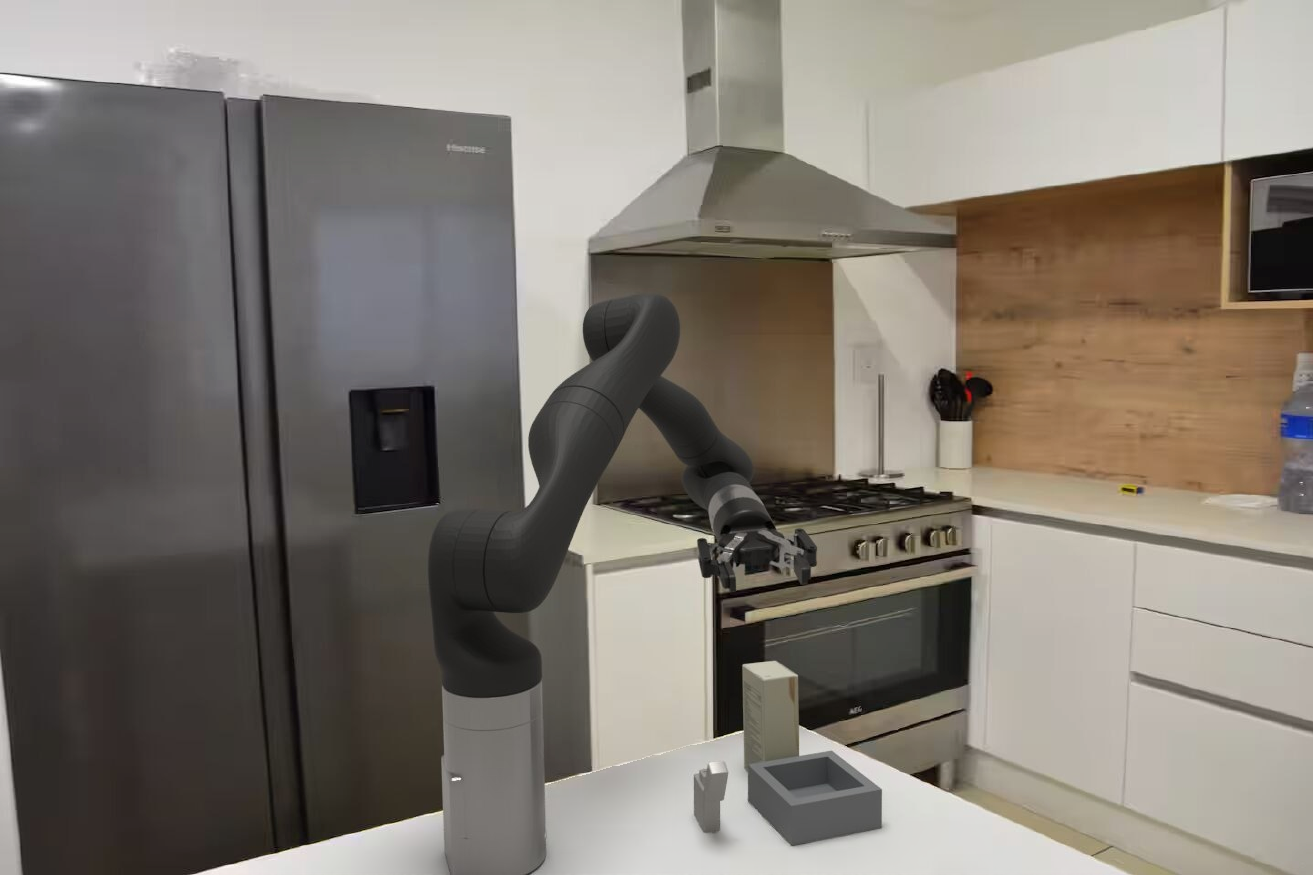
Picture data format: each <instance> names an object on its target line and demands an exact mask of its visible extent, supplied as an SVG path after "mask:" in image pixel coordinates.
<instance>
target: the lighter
mask: <svg viewBox="0 0 1313 875" xmlns="http://www.w3.org/2000/svg"><path fill="white" fill-rule="evenodd" d="M728 770H729V769H728V767H727V764H726V762H725V761H724V760H723V761H721V760H720V761H712V762H709V763H707V768H702V769H699V770H698V773H694V774H693V816H694V817H695V820H696V821H697V823H698V825H699V827H700V829H701V830H702V833H703V834H708V833H717V832H721V802H722V801H725V797H726V796H725V795H726V790H727V784H728V778H729V771H728Z"/></svg>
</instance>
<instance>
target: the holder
mask: <svg viewBox="0 0 1313 875" xmlns="http://www.w3.org/2000/svg"><path fill="white" fill-rule="evenodd" d="M747 802H748V803H749V804H750V805H751V806H752V807H753V808H754V809H755V810H756V811H757V813H759V814H760V815H761V816H762V817H763V818H764V820H766V821H767V822H768V823H769V825H771V826H772V827H773V829H775V830H776V832H777V833H779V835H781V837H782V838H783V839H784V840H785V841H786V842H787V843H788V844H789V845H790V846H791V847H792V846H797V845H802V844H807V843H808V844H809V843H812V842H813V843H814V842H818V841H823V840H827V839H833V838H837V837H842V836H848V835H854V834H857V833H858V834H859V833H863V832H867V831H871V830H872V831H873V830H877V829H882V827H883V826H882V825H883V822H882V821H883V820H882V818H883V816H882V815H883V812H882V811H883V789H882V788H881V787H880V786H878V784H876V783H874V782H873V781H872V780H871V779H869V777H867V776H865V775H864V774H863V773H861V772H860V771H859V770H858V769H857V768H855V767H854V766H853V765H851V764H850V763H848V762H847V760H844V758H842V757H841V756H839V755H838V754H837V753H836V752H835V751H834V750H828V751H822V752H821V751H820V752H816V753H810V754H809V753H808V754H804V755H803V754H801V755H799V756H796V757H790V758H784V759H778V760H772V761H766V762H760V763H754V764H748V771H747Z"/></svg>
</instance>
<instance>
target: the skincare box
mask: <svg viewBox="0 0 1313 875" xmlns="http://www.w3.org/2000/svg"><path fill="white" fill-rule="evenodd" d="M741 666H742V670H741V671H742V709H743V711H742V715H743V721H742V723H743V767H744V769H745V770H746V771H747V772H748V764H754V763H760V762H766V761H772V760H778V759H784V758H790V757H796V756H800V724H799V723H800V721H799V719H800V715H799V709H800V708H799V675H798V674H797V673H795V672H794V671H793V670H791V669H789V668H788V667H787V666H785V665H784V664H782V663H780V662H778V661H777V660H770V661H763V662H762V661H761V662H753V663H751V662H750V663H743V664H742V665H741Z"/></svg>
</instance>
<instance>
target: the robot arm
mask: <svg viewBox="0 0 1313 875" xmlns="http://www.w3.org/2000/svg"><path fill="white" fill-rule="evenodd" d="M680 322H681V321H680V317H679V313H678V310H677V308H676V306H675V305H674V303H673V302H672V300H670V299H669V298H668V297H666V296H664V295H663V294H661V293H656V292H654V293H653V292H647V293H638V294H633V295H628V296H622V297H617V298H612V299H608V300H604V301H603V300H602V301H600V302H597V303H594V304H593V305H591V306H590V307H588V309H587V311H586V312H585V315H584V317H583V322H582V337H583V343H584V347H585V350H586V351H587V354H588V356H589V358H590V359H591V360H592V361H591V362H589V363H588V364H586V365H585V366H583V368H580V369H579V370H578V371H576V372H574V373H573V374H571V375H570V376H568V377H567V378H566V379H564V380H563V381H562V382H561V383H560V384H559V385H558V386H557V387H556V388H554V390H553V391H552V393H551V394H550V395H549V397H548V398H547V399H546V401H545V403H544V404H543V406H542V407H541V408H540V410H539V412H537V415H536V416H535V418H534V420H533V421H532V424H531V426H530V429H529V431H528V437H527V439H528V442H527V443H528V445H527V446H528V452H529V454H528V455H529V457H530V462H531V465H532V467H533V470H534V473H535V476H536V479H537V483H538V486H539V487H538V489H537V492H536V493H535V494H534V497H533V498H532V500H531V501H530V503H529V504H528V505H526V506H525V507H524V508H522V509H519V510H515V511H513V510H498V509H480V508H478V509H477V508H476V509H475V508H458V509H453V510H450V511H448V512H446V513H445V514H444V515H443V516H442V517H441V518H440V520H439V521H438V522H437V524H436V526H435V527H434V529H433V531H432V535H431V538H430V543H429V549H428V557H427V579H428V580H427V582H428V591H429V604H430V612H431V613H430V614H431V625H432V636H433V638H432V639H433V650H434V654H435V658H436V661H437V664H438V666H439V669H440V673H441V674H440V676H441V696H442V697H441V698H442V699H441V700H442V721H443V722H442V726H443V727H442V728H443V731H442V732H443V753H444V754H443V755H441V760H440V761H441V786H442V787H441V788H442V789H441V791H442V819H443V845H444V846H443V847H444V848H443V850H444V854H445V857H446V861H447V865H448V869H449V874H450V875H527V874H529V873H532V872H533V871H534V870H537V868H538V867H540V865H542V864H543V862H544V860H545V859H546V856H547V827H546V826H547V824H546V823H547V821H546V820H547V819H546V817H547V816H546V788H545V787H546V786H545V785H546V784H545V780H546V779H545V778H546V777H545V752H544V751H545V750H544V749H545V748H544V747H545V745H544V743H545V742H544V712H543V711H544V709H543V708H544V707H543V661H542V654H541V652H540V649H539V648H538V647H537V646H536V644H534V643H533V642H532V641H530V640H528V639H527V638H525V637H522V636H520V635H519V634H517V633H516V632H514V631H512V630H511V629H509V628H508V627H507V626H506V625H505V624H504V623H503V622H502V621H501V620H500V619H499V618H498V617H497V615H496V614H495V613H507V614H522V613H523V614H524V613H528V612H532V611H534V610H535V609H537V608H538V607H540V606H541V605H542V604H543V602H545V600H546V598H547V597H548V595H549V594H550V592H551V590H552V588H553V586H554V585H555V582H556V581H557V578H558V575H559V573H560V570H561V568H562V566H563V563H564V560H565V558H566V556H567V553H568V550H569V548H570V546H571V543H572V540H573V539H574V535H575V533H576V530H577V529H578V525H579V522H580V520H581V517H582V516H583V513H584V512H585V509H586V508H587V507H586V506H587V504H588V502H589V500H590V499H591V497H592V495H593V492H594V491H595V488H596V487H597V485H598V484H599V481H600V479H601V477H602V475H603V474H604V472H605V470H606V468H607V467H608V465H609V464H610V462H611V461H612V459H613V457H614V455H615V454H616V452H617V450H618V448H619V446H620V444H621V442H622V440H623V438H624V436H625V434H626V432H627V429H628V427H629V426H630V424H631V423H632V422H631V421H632V420H633V418H634V417H635V415H636V413H637V411H638V410H641V412H642V413H643V414H644V415H646V416H647V418H648V419H649V420H650V421H651V423H652V424H654V426H655V427H656V428H657V429H658V431H659V432H660V434H661V435H662V436H663V438H664V439H665V441H666V442H667V444H668V446H669V447H670V448H671V450H672V451H673V453H674V455H675V456H676V458H678V460H679V461H680V462H681V463H682V464H684V465H686V467H685V468H684V469H683V471H682V473H681V482H682V483H681V484H682V487H683V488H684V491H685V492H686V494H687V495H688V496H689V498H690V499H691V500H692V501H693V502H694V503H695V504H696V505H698V506H699V507H700V508H702V509H703V510H706V512H707V513H708V517H709V522H710V527H711V530H712V533H713V534H714V535H715V538H716V540H717V542H708V540H707V539H706V538H705V537H700V538H698V539H697V540H696V545H697V546H696V547H697V548H696V549H697V561H698V564H699V569H700V573H701V577H702V578H704V579H710V578H712V576H717V578H718V579H719V581H720V583H721V586H722V587H723V589H728V591H729V593H735V592H736V591H737V577H736V574H737V572H738V571H739V570H740V569H742V567H743V566H745V567H747V566H749V567H750V566H754V565H765V564H766V565H767V564H769V565H772V566H775V567H777V568H780V569H785V568H788V569H791V570H793V572H794V574H795V577H796V578H797V580H798V581H799V583H800V585H808V582H809V581H810V580H811V578H812V568H814V567H817V566H818V560H817V556H818V555H817V554H818V552H817V551H818V546H817V545H816V543H815V542H814V541H813V540H812V538H811V536H809V534H808V533H807V532H806V530H805V529H803V528H801V527H799V528H795V529H794V534H788V535H784V534H783V533H782V532H779V530H777V528H776V525H775V522H774V521H773V519H772V518H771V515H770V514H769V512H768V510H767V509H766V507H765V505H764V503H763V501H762V500H761V499H760V497H759V496H758V495H757V494H756V492H755V490H754V488H753V487H752V486H751V484H750V483H751V482H752V479H753V477H754V473H755V467H754V464H753V461H752V459H751V457H750V455H748V453H747V452H746V450H744V449H743V448H742V447H741V446H740V445H739V444H738V443H736V442H735V441H733V440H731V439H730V438H728V437H727V436H726V435H725V434H724V433H722V432H721V430H720V428H718V426H717V425H716V423H715V421H714V420H713V418H712V416H711V415H710V413H709V412H708V410H707V409H706V407H705V405H704V404H703V403H702V402H701V401H700V400H699V398H697V397H696V396H695V395H694V394H692V393H691V392H690V391H688V390H687V389H685V388H683V387H681V386H679V385H678V384H677V383H674V382H673V381H671V380H669V379H667V378H665V377H664V376H662V374H663V373H664V372H665V371H666V370H667V368H668V366H669V365H670V364H671V363H672V361H673V359H674V357H675V355H676V352H677V351H678V348H679V342H680V337H681V323H680ZM715 554H719V555H718V556H717V558H716V559H713V557H715ZM778 556H779V557H778ZM791 556H793V558H791Z"/></svg>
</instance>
